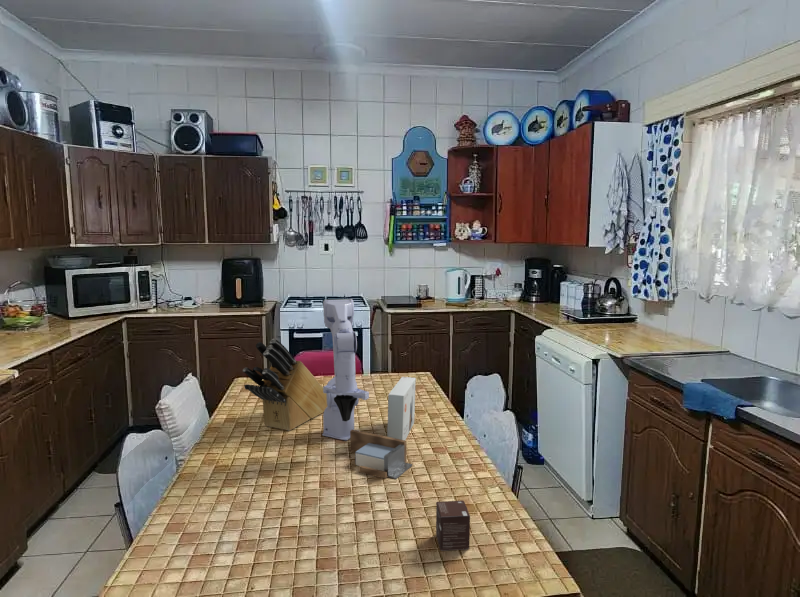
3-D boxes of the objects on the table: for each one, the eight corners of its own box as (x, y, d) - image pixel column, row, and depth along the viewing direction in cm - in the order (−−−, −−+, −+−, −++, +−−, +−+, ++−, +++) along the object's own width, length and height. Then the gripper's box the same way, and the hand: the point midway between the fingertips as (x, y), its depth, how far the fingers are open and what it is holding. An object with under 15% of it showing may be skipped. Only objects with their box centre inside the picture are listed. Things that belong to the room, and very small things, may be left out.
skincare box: (404, 447, 152) (404, 395, 150) (386, 445, 153) (386, 394, 151) (416, 422, 172) (416, 376, 171) (400, 421, 173) (400, 375, 172)
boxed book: (354, 466, 140) (354, 452, 139) (369, 456, 146) (368, 442, 146) (386, 473, 135) (386, 459, 135) (399, 463, 141) (399, 449, 141)
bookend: (384, 476, 133) (384, 456, 132) (400, 462, 141) (400, 443, 140) (396, 479, 131) (396, 458, 131) (412, 465, 139) (412, 446, 139)
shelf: (329, 464, 140) (328, 443, 139) (352, 449, 150) (352, 429, 150) (385, 478, 132) (385, 456, 131) (406, 461, 142) (406, 440, 141)
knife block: (242, 436, 161) (238, 340, 157) (309, 404, 192) (307, 323, 188) (270, 442, 156) (266, 343, 152) (334, 408, 187) (333, 325, 183)
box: (435, 534, 107) (435, 501, 106) (463, 532, 107) (464, 499, 106) (440, 551, 101) (440, 516, 100) (470, 550, 101) (470, 515, 100)
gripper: (316, 374, 145) (317, 420, 146) (359, 380, 138) (359, 428, 140) (331, 368, 151) (332, 412, 153) (372, 374, 144) (373, 420, 146)
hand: (346, 420), depth 147 cm, fingers closed
